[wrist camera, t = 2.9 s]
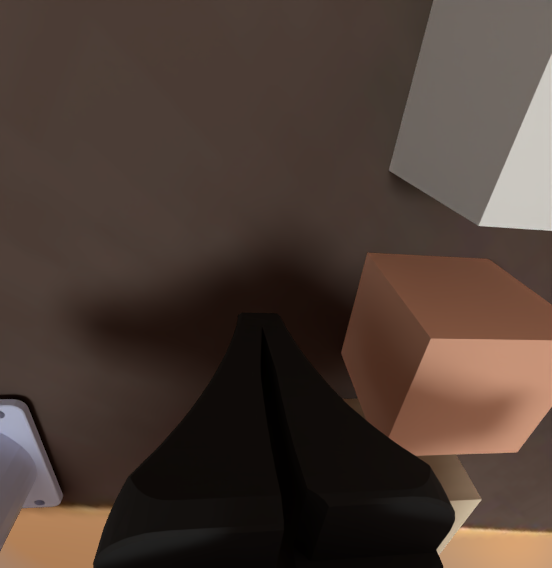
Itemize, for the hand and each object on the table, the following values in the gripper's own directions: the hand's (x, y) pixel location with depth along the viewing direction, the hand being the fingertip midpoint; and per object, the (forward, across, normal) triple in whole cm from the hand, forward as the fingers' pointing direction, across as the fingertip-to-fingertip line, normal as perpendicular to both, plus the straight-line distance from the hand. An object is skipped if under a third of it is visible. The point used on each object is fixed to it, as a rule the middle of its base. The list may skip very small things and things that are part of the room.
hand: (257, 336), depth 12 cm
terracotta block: (+2, -7, 0) cm, 7 cm away
